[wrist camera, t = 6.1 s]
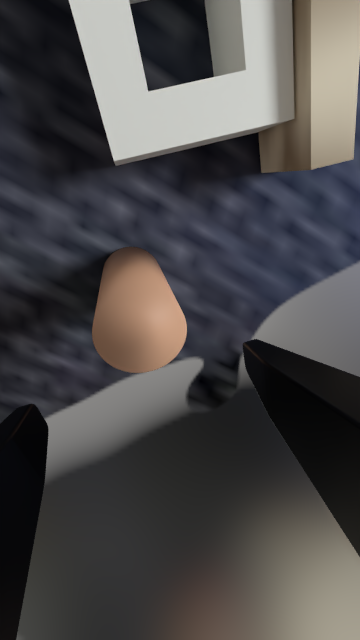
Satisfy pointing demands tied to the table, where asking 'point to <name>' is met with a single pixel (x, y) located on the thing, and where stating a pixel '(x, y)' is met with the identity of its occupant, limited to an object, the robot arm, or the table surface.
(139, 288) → the dowel
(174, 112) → the hole block
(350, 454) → the robot arm
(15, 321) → the table surface
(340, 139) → the backstop wall
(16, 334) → the table surface
